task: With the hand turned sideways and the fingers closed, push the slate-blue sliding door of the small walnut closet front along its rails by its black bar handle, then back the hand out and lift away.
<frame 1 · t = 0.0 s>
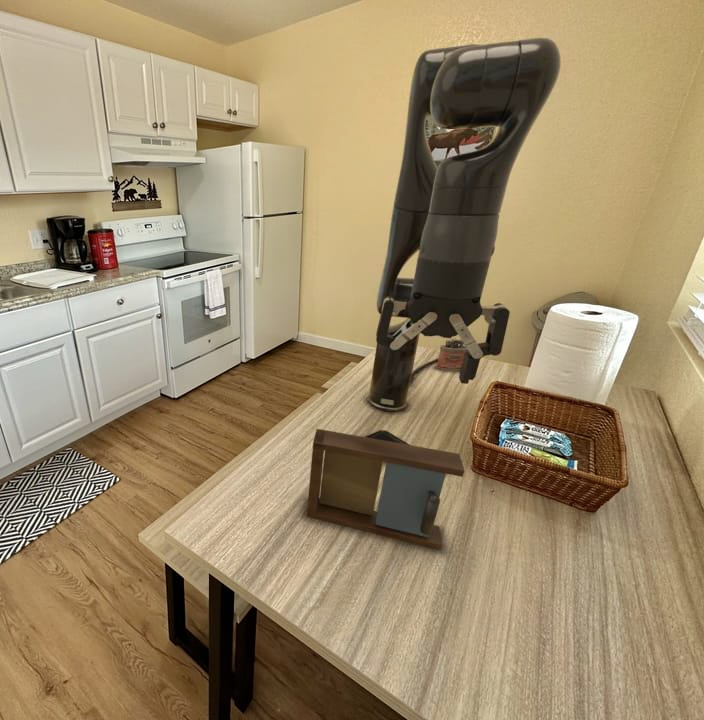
hand: (427, 376, 52), 29 cm above the table, tool pointing down, fingers open, 8 cm apart
phone: (398, 456, 82), on the table
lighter: (449, 369, 120), on the table
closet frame: (372, 524, 66), on the table
closet door: (408, 505, 59), point 8 cm above the table, slide at 0.0 cm
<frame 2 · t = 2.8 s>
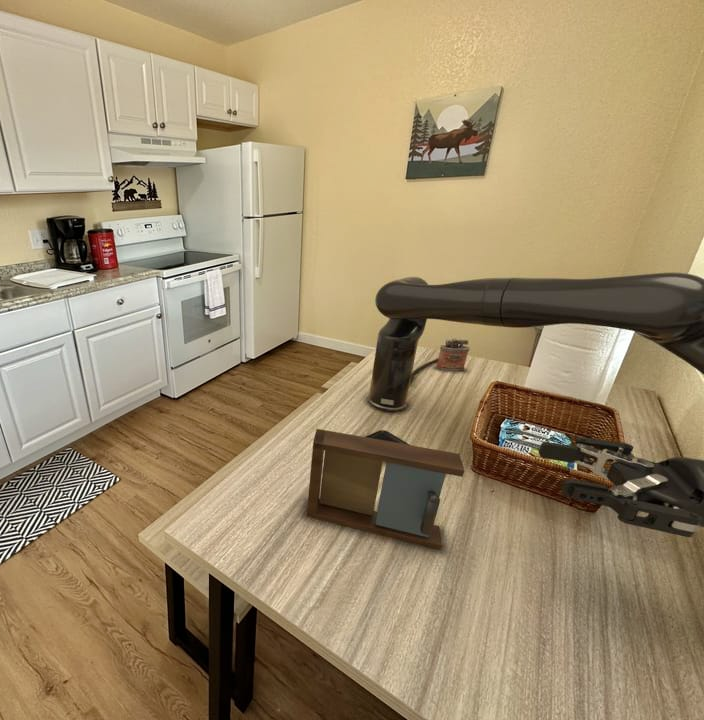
hand: (551, 467, 48), 20 cm above the table, tool horizontal, fingers open, 7 cm apart
nothing on the table moved.
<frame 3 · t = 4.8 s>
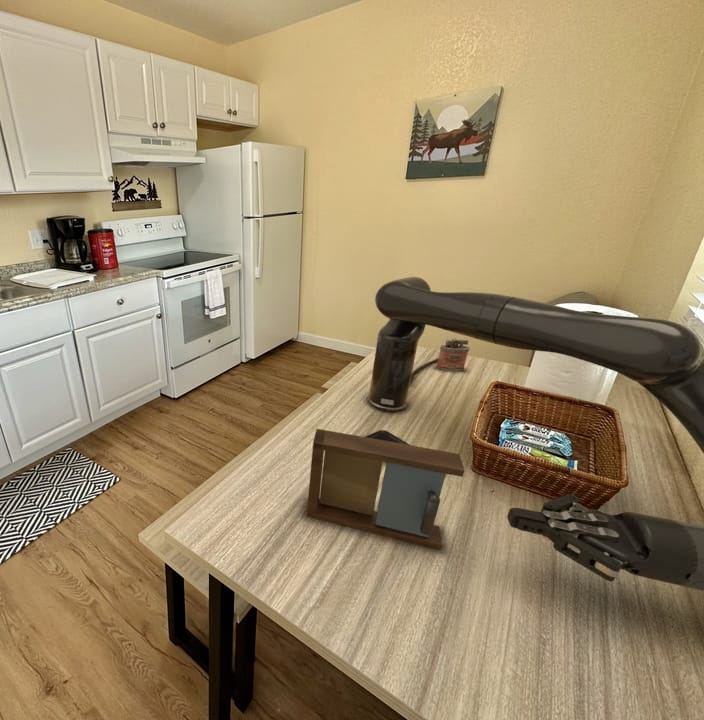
hand: (510, 517, 53), 11 cm above the table, tool horizontal, fingers closed
nothing on the table moved.
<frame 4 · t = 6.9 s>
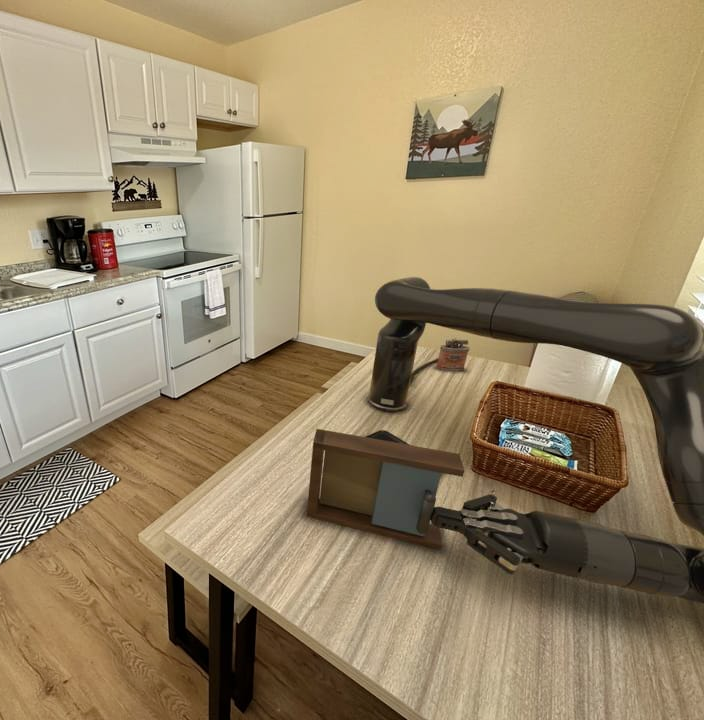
hand: (431, 515, 57), 8 cm above the table, tool horizontal, fingers closed
closet door: (404, 504, 59), point 8 cm above the table, slide at 0.6 cm, touching gripper
everything else where it was.
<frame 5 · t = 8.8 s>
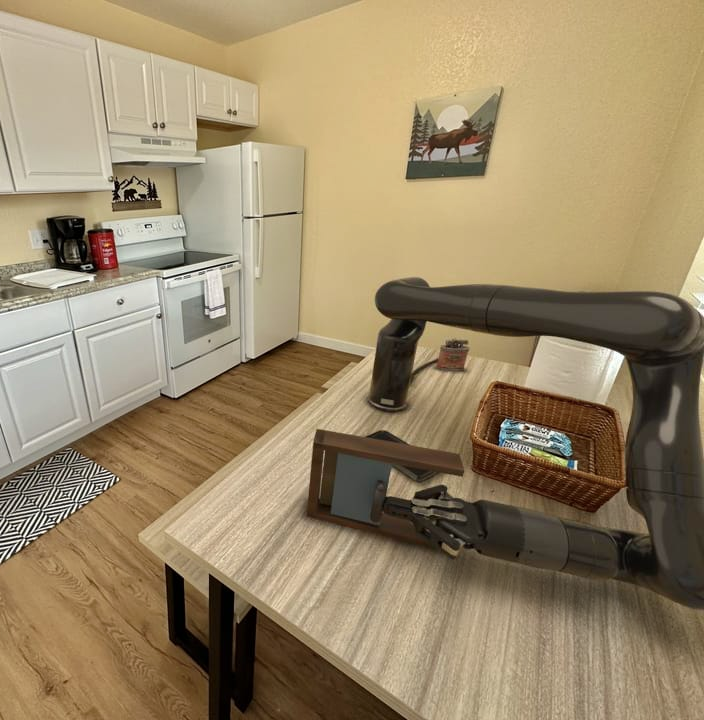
hand: (383, 504, 59), 8 cm above the table, tool horizontal, fingers closed
closet door: (359, 494, 61), point 8 cm above the table, slide at 7.3 cm, touching gripper
everything else where it was.
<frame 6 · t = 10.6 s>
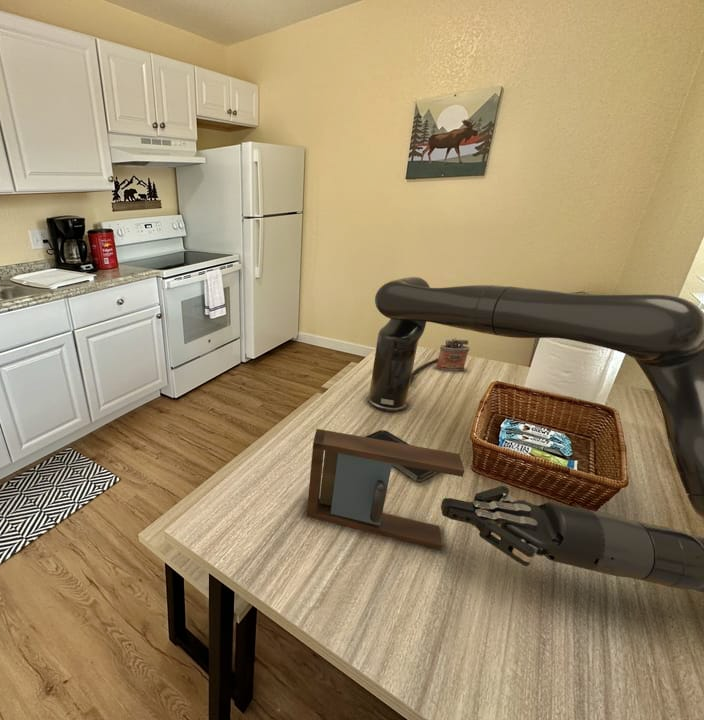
hand: (442, 506, 56), 10 cm above the table, tool horizontal, fingers closed
closet door: (359, 494, 61), point 8 cm above the table, slide at 7.3 cm
everything else where it was.
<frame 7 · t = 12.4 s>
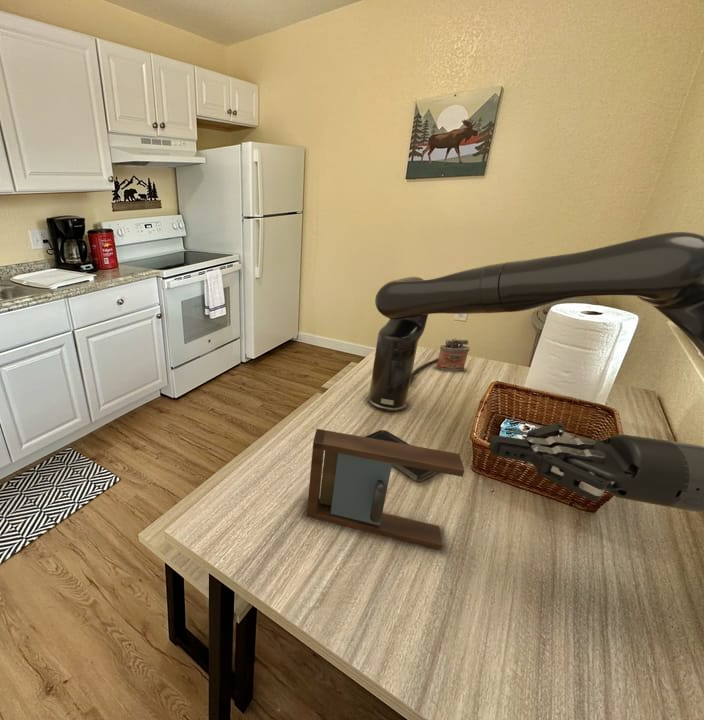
hand: (491, 445, 50), 22 cm above the table, tool horizontal, fingers closed
nothing on the table moved.
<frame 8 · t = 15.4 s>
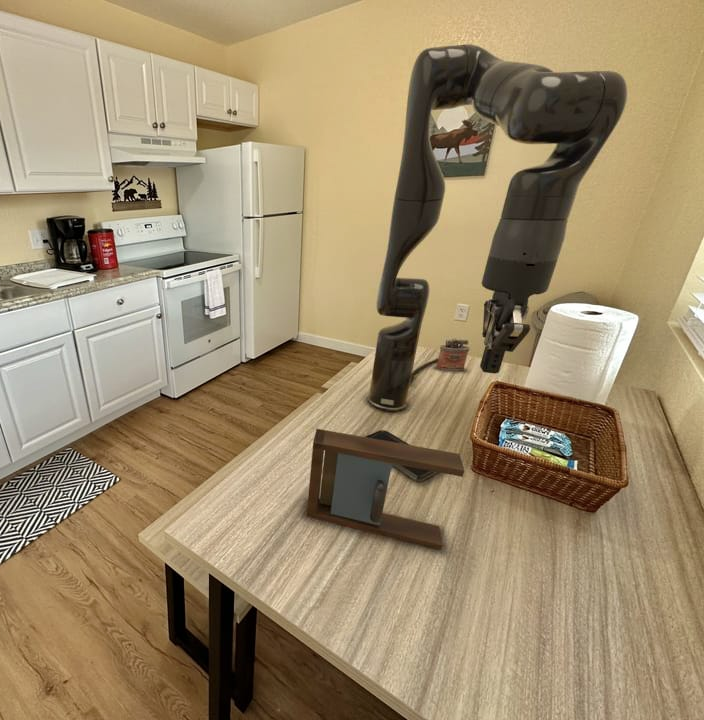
hand: (488, 370, 58), 27 cm above the table, tool pointing down, fingers closed
nothing on the table moved.
at the end: closet door slide at 7.3 cm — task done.
